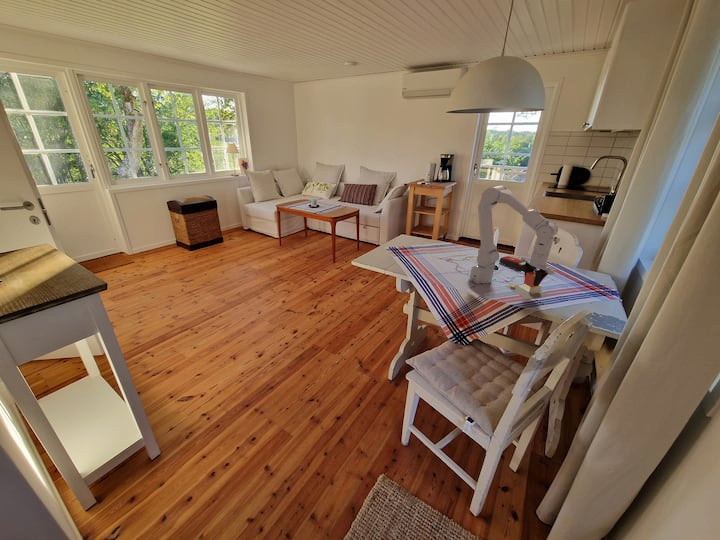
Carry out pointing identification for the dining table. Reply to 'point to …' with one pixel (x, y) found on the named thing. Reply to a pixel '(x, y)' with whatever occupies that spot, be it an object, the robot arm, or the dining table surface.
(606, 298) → the dining table surface
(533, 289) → the switch handle
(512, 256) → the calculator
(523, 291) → the panel
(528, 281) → the block
